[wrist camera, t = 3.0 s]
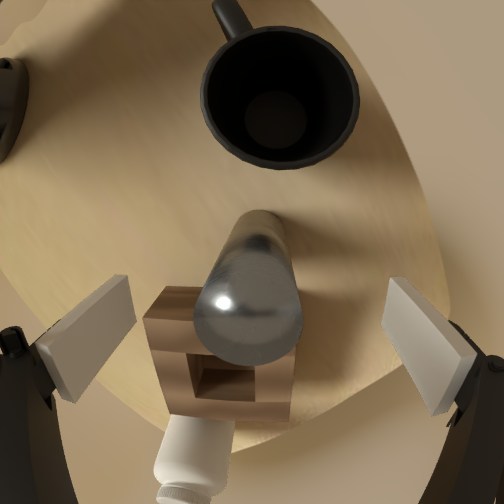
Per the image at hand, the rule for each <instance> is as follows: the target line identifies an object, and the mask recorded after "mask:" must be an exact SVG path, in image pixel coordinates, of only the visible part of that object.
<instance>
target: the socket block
mask: <svg viewBox="0 0 504 504" xmlns="http://www.w3.org/2000/svg"><path fill="white" fill-rule="evenodd" d="M202 289H203V287H170V286H166V287H165V288H164V290H163V291H162V292H161V294H160V295H159V296H158V297H157V299H156V300H155V301H154V303H153V304H152V305H151V307H150V308H149V309H148V311H147V312H146V313H145V315H144V316H143V318H142V319H143V323H144V327H145V331H146V335H147V339H148V343H149V347H150V351H151V355H152V358H153V362H154V366H155V369H156V372H157V376H158V379H159V382H160V386H161V389H162V392H163V395H164V398H165V401H166V404H167V407H168V410H169V413H170V414H174V415H181V416H188V417H197V418H206V419H217V420H231V421H256V422H285V421H289V413H290V404H291V395H292V386H293V376H294V365H295V354H296V345H295V346H294V347H293V349H292V350H291V351H290V352H289V353H287V354H286V355H285V356H283V357H282V358H280V359H278V360H276V361H274V362H271V363H268V364H264V365H259V366H242V365H236V364H232V363H229V362H227V361H224V360H222V359H220V358H218V357H217V356H215V355H214V354H212V353H211V352H210V351H209V350H207V349H206V347H205V346H204V345H203V344H202V343H201V341H200V340H199V338H198V336H197V334H196V331H195V329H194V324H193V311H194V307H195V304H196V302H197V299H198V297H199V295H200V293H201V291H202Z"/></svg>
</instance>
